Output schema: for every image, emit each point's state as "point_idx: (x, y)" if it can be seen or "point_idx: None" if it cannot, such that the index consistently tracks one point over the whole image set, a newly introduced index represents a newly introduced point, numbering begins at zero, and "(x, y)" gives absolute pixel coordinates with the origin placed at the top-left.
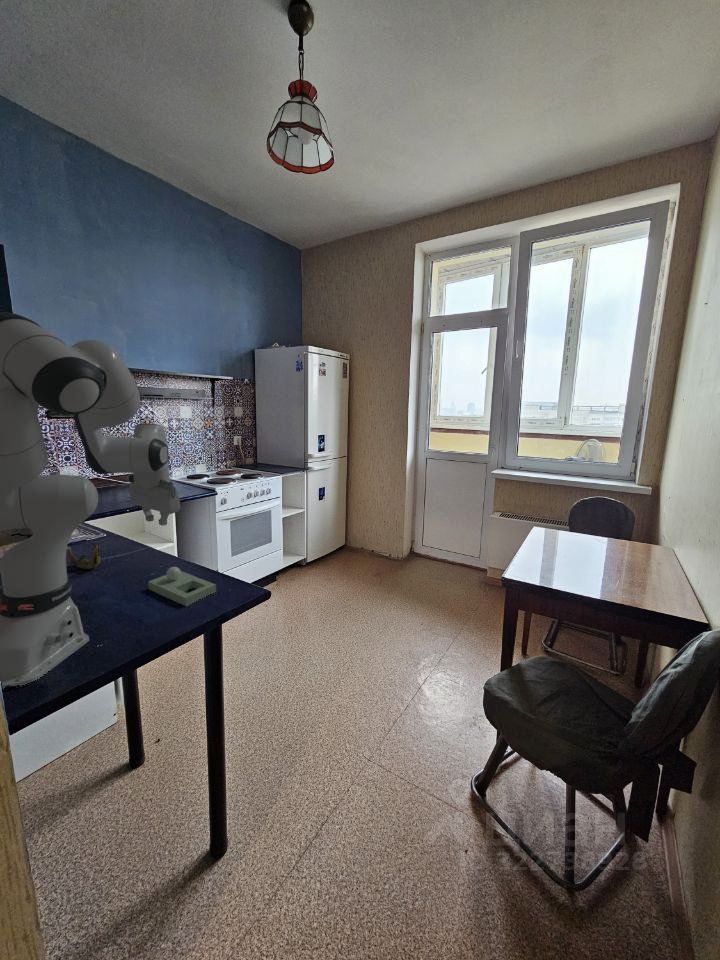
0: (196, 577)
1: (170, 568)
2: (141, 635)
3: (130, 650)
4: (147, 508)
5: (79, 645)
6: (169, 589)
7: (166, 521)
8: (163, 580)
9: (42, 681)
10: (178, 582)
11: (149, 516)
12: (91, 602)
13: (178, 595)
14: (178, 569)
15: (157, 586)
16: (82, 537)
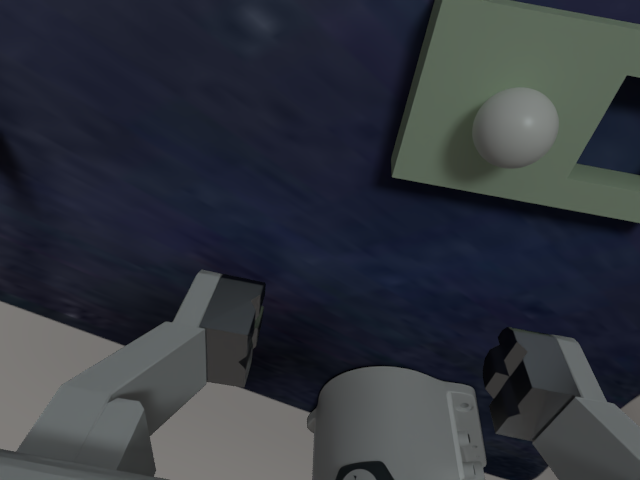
0: (632, 33)
1: (514, 157)
2: (590, 349)
3: (603, 386)
4: (145, 467)
5: (477, 408)
6: (551, 198)
7: (584, 373)
8: (455, 141)
9: (495, 453)
10: None
11: (245, 368)
12: (292, 285)
13: (624, 218)
14: (553, 124)
15: (466, 188)
16: None
